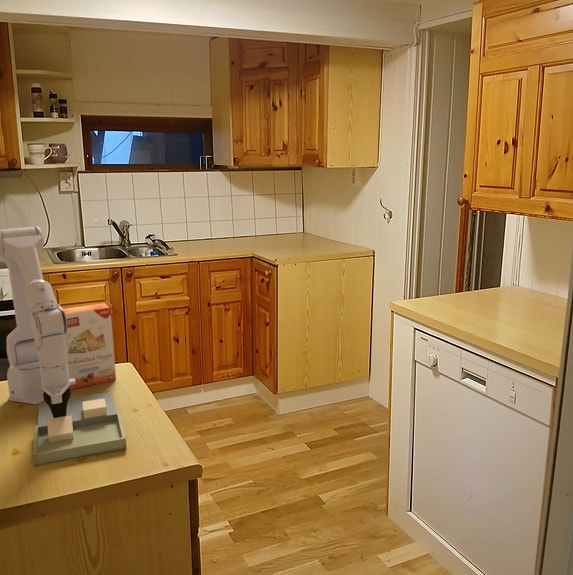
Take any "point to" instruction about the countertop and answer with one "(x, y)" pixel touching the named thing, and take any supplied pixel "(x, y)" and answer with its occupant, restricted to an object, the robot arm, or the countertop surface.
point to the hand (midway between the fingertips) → (60, 420)
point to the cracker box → (90, 345)
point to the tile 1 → (60, 429)
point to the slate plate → (79, 412)
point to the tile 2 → (94, 408)
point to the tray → (80, 442)
